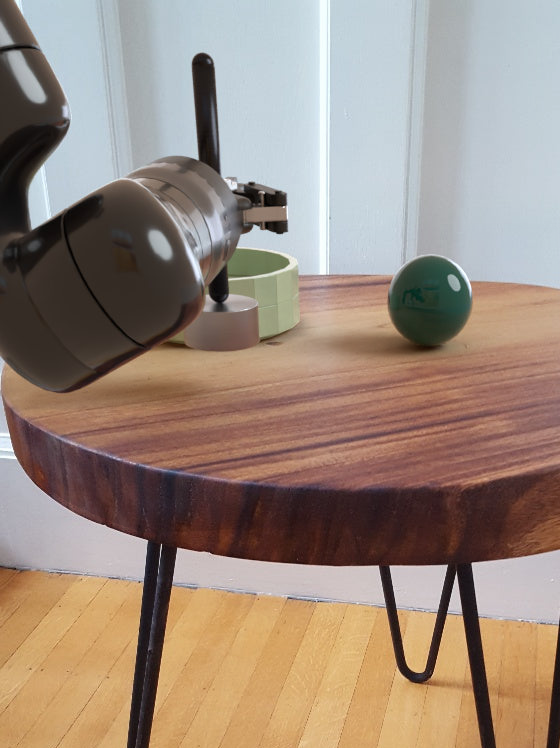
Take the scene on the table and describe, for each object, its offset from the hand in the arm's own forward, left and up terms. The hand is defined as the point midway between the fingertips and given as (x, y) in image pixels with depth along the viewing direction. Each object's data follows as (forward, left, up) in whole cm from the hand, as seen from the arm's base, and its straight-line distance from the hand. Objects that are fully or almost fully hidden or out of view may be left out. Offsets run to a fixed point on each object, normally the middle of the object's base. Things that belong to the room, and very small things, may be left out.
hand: (218, 191), depth 73 cm
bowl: (-1, +18, -15) cm, 23 cm away
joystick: (-1, -3, -11) cm, 11 cm away
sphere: (+19, +9, -15) cm, 25 cm away
